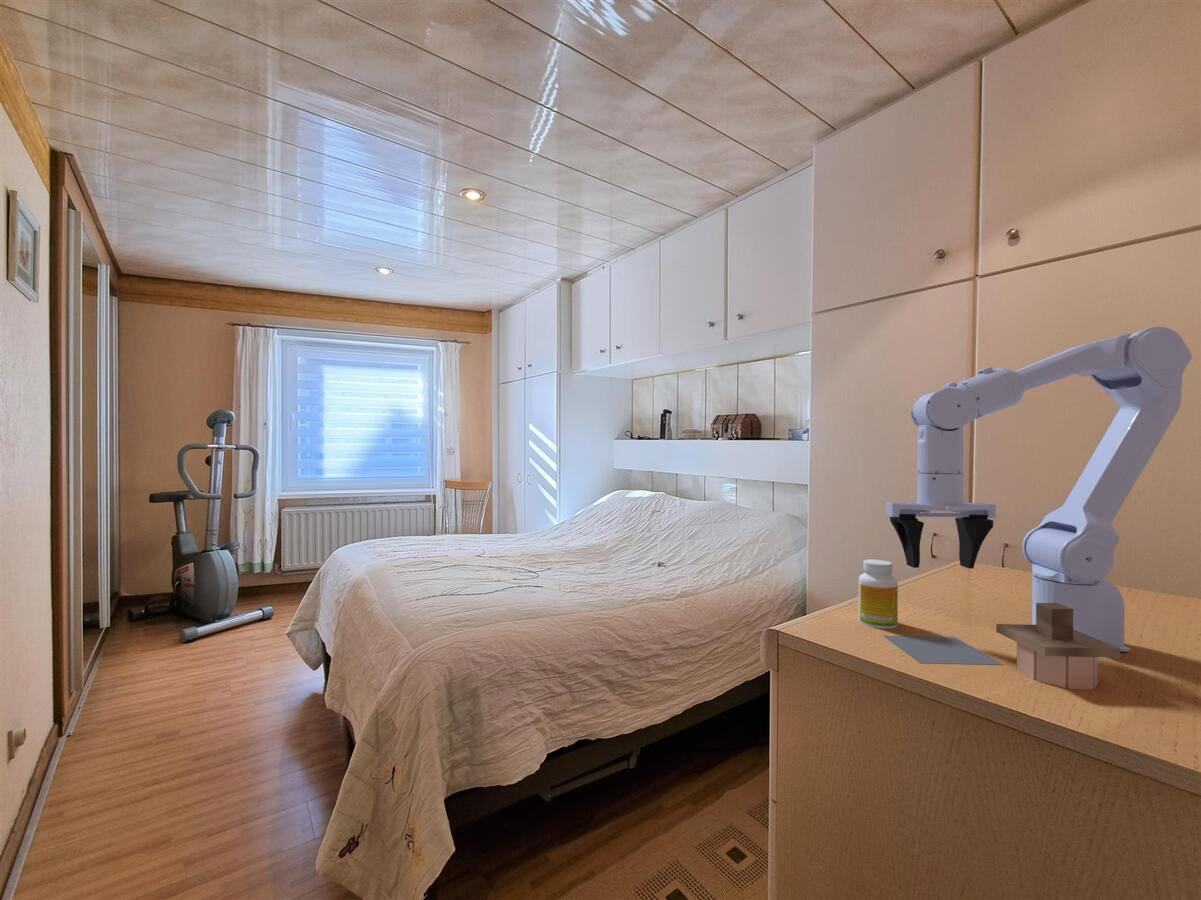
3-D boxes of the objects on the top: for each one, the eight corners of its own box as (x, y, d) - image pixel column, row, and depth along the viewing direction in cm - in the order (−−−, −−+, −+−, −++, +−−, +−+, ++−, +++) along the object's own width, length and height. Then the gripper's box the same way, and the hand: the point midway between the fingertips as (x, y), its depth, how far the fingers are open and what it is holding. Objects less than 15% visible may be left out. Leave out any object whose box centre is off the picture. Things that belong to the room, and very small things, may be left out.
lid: (1062, 633, 68) (1062, 597, 68) (1120, 657, 60) (1120, 616, 60) (996, 631, 69) (996, 596, 69) (1045, 656, 61) (1045, 615, 61)
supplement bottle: (902, 632, 81) (903, 566, 81) (863, 629, 82) (863, 564, 82) (891, 621, 86) (891, 559, 86) (854, 618, 87) (854, 557, 87)
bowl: (1063, 667, 68) (1063, 635, 68) (1113, 692, 61) (1113, 656, 61) (1004, 666, 68) (1005, 634, 68) (1048, 691, 61) (1048, 655, 61)
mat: (954, 639, 77) (954, 636, 77) (1003, 667, 68) (1003, 664, 68) (882, 638, 78) (882, 635, 78) (920, 666, 68) (920, 662, 68)
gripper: (903, 474, 76) (902, 572, 76) (1011, 474, 75) (1010, 573, 75) (879, 472, 83) (879, 561, 83) (978, 472, 82) (977, 562, 82)
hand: (939, 566), depth 80 cm, fingers open, 7 cm apart
